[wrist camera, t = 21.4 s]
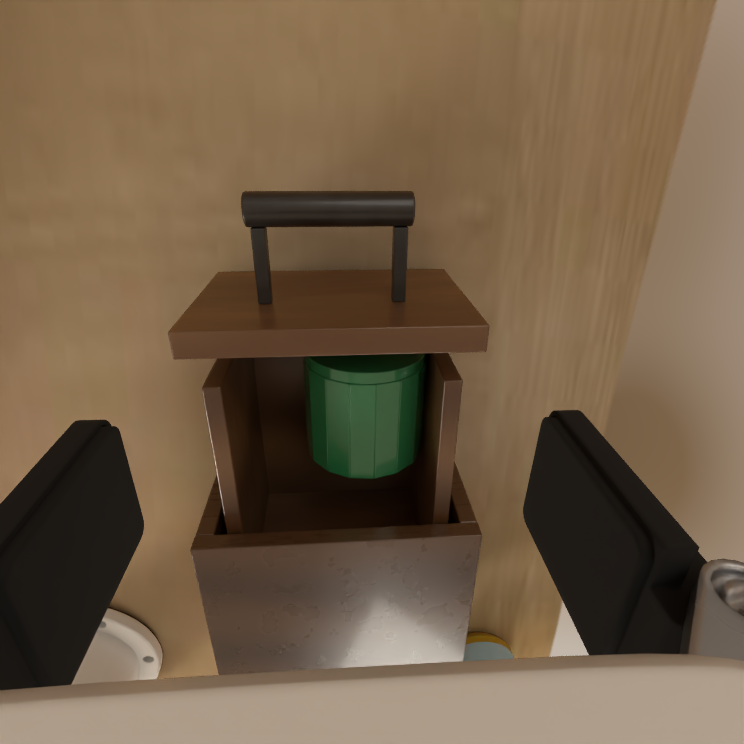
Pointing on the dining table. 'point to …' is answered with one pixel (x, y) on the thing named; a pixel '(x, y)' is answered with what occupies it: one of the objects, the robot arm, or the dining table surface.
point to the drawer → (323, 338)
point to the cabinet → (337, 592)
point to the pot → (364, 412)
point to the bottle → (485, 647)
